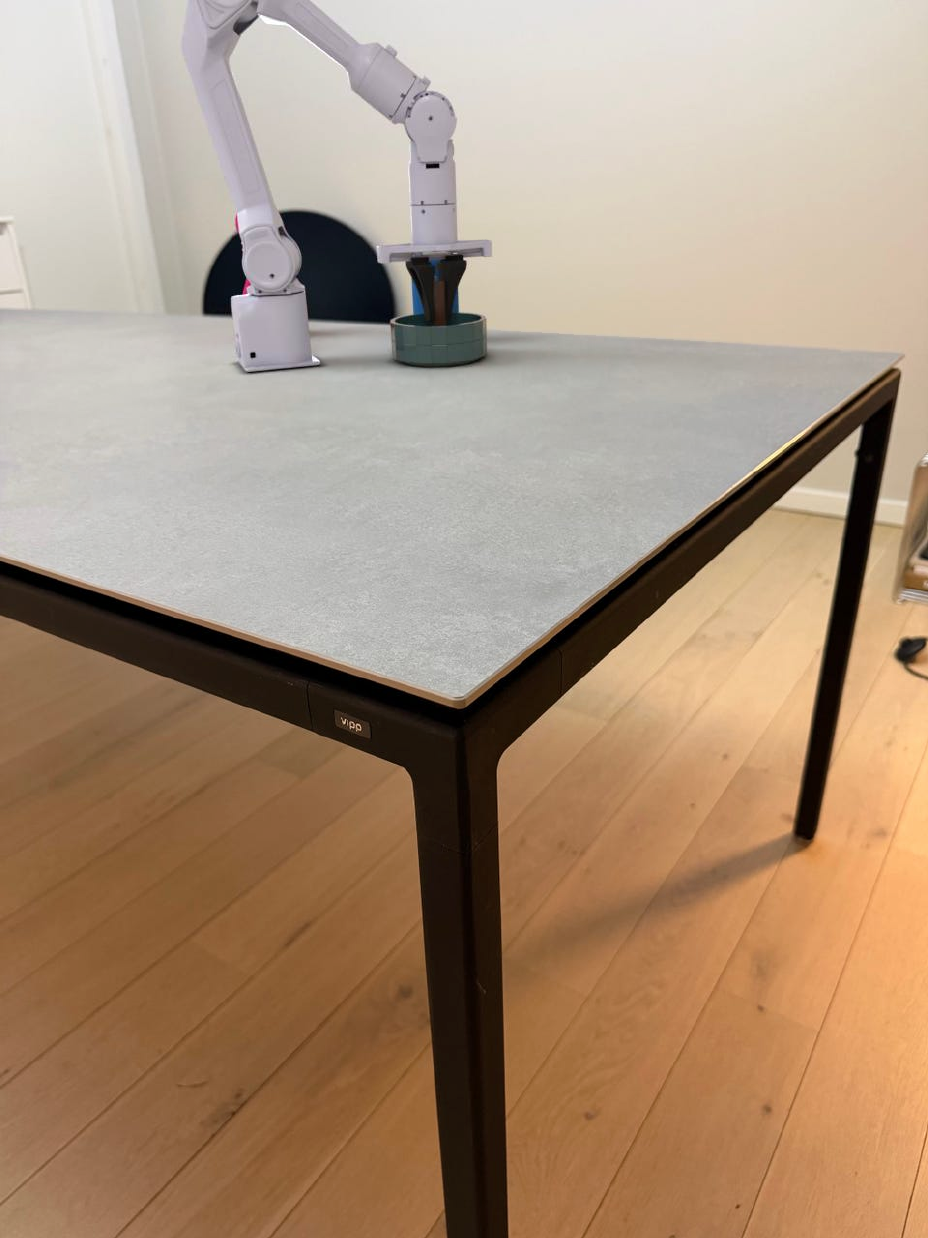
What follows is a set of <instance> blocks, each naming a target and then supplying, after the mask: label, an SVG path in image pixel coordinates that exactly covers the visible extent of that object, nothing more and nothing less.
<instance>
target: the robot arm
mask: <svg viewBox="0 0 928 1238" xmlns="http://www.w3.org/2000/svg"><path fill="white" fill-rule="evenodd" d="M259 18H260V19H261V20H262V21H263V22H264V23H265V24H268V25H277V26H288V27H289V28H291V29H292V30H294V31H295V32H296V33H297V34H299V35H300V36H301V37H303V38H304V39H305V40H306V41H308V42H309V43H310V44H312V45H313V46H314V47H316V48H317V49H318V50H319V51H321V52H322V53H323V54H325V55H326V56H327V57H328V58H330V59H331V60H333V61H334V62H335V63H336V64H337V65H339V66H340V67H342V68H343V69H344V70H345V71H346V74H347V80H348V86H349V89H350V90H351V91H352V92H353V93H354V94H355V95H357V96H358V97H360V98H361V99H362V100H363V101H364V102H366V103H367V105H369V106H370V107H372V108H373V109H374V110H375V111H377V112H378V113H379V114H381V115H382V116H383V117H385V118H386V120H388V121H389V122H391V123H392V124H393V125H397V124H400V125H403V127H404V130H405V133H406V135H407V137H408V139H409V141H408V143H409V162H408V163H407V169H408V171H407V172H408V190H409V192H408V193H409V210H410V211H409V214H410V227H411V228H410V232H411V242H408V243H398V244H397V243H396V244H385V245H377V246H376V254H377V255H376V256H377V263H378V264H391V263H404V262H405V269H406V270H407V273H408V274H409V276H410V279H411V278H412V280H413V282H414V284H415V286H416V289H417V291H418V294H419V297H420V299H421V303H422V306H423V310H424V315H425V320H427V321H429V322H432V321H435V301H434V280H435V269H436V267H435V266H434V265H431V262H429V260H436V259H442V260H440V261H437V263H436V265H437V270H438V277H439V280H443V281H445V307H446V310H445V314H446V320H451V315H452V309H453V304H454V299H455V296H456V292H457V289H458V290H459V286H460V284H461V281H462V278H463V276H464V274H465V272H466V270H467V265H468V262H467V260H465V258H467V259H468V258H479V257H480V258H481V257H483V258H489V257H491V258H492V257H493V241H492V240H491V239H467V240H466V239H465V240H464V239H463V240H458V207H457V201H458V200H457V175H456V174H457V173H456V172H457V171H456V170H457V169H456V168H457V167H456V162H455V160H454V156H455V145H454V142H453V138H452V137H453V136H454V134H455V131H456V128H457V123H458V122H457V121H458V118H457V116H456V113H455V110H454V107H453V105H452V103H451V102H450V100H449V98H447V97H446V96H445V95H444V94H442V93H440V92H438V91H433V90H428V88H430V87H429V86H431V83H432V81H431V80H430V79H429V78H428V77H427V76H426V75H424V76H423V77H422V78H421V77H420V76H419V75H417V73H415V72H414V71H413V70H412V69H410V68H409V67H408V66H407V65H405V64H404V62H402V61H400V59H398V58H397V57H396V56H397V55H398V51H397V50H396V49H395V48H394V47H393V46H392V45H390V44H387V45H386V46H385V47H384V46H383V45H381V43H379V42H377V41H376V42H375V41H374V42H369V43H363V44H361V43H359V42H358V41H357V40H356V39H355V38H354V37H353V36H351V34H349V33H348V31H346V30H345V29H343V28H342V26H340V25H339V24H338V23H336V22H335V21H334V20H333V19H332V18H331V17H330V16H329V15H328V14H327V13H326V12H324V11H323V10H322V9H321V8H319V6H317V5H316V4H315V3H314V2H313V1H312V0H187V1H186V7H185V15H184V21H183V26H182V33H181V40H180V48H181V54H182V57H183V60H184V63H185V66H186V69H187V71H188V75H189V77H190V80H191V83H192V87H193V89H194V93H195V96H196V99H197V101H198V104H199V108H200V110H201V113H202V116H203V118H204V122H205V125H206V128H207V131H208V134H209V136H210V137H209V138H210V139H211V142H212V145H213V149H214V151H215V154H216V157H217V160H218V163H219V167H220V170H221V172H222V175H223V178H224V181H225V184H226V187H227V189H228V193H229V196H230V199H231V203H232V205H233V207H234V210H235V213H236V214H237V219H238V229H239V233H238V235H239V238H240V240H241V242H242V244H243V245H242V244H241V245H242V246H243V247H242V249H243V251H242V259H241V266H242V270H243V271H242V272H243V273H244V276H245V277H246V279H248V280H249V282H250V283H251V286H249V287H248V288H247V293H248V294H246V295H243V294H240V295H239V294H237V295H233V296H231V298H230V307H231V316H232V324H233V331H234V339H235V343H234V344H235V345H234V346H235V353H236V357H237V362H238V364H239V365H240V366H241V367H242V369H243V370H244V371H245V372H246V373H247V372H259V371H260V372H261V371H270V370H271V371H272V370H281V369H291V368H292V369H293V368H300V367H310V366H320V365H321V361H320V360H319V359H318V358H317V357H316V356H314V355H313V353H312V343H311V334H310V325H309V314H308V304H307V296H306V295H307V294H306V285H304V284H302V283H301V282H300V281H299V279H298V278H297V277H296V276H297V275H298V274H299V272H300V269H301V267H302V253H301V250H300V247H299V245H298V244H297V242H296V241H295V240H294V239H293V238H292V237H291V236H290V235H289V233H288V231H287V230H286V228H285V227H286V226H285V224H284V221H283V219H282V216H281V214H280V212H279V210H278V208H277V205H276V204H275V200H274V198H273V194H272V191H271V188H270V185H269V182H268V179H267V176H266V175H267V174H266V172H265V170H264V166H263V164H262V159H261V157H260V153H259V151H258V148H257V145H256V141H255V138H254V135H253V132H252V128H251V125H250V122H249V119H248V116H247V113H246V110H245V107H244V104H243V100H242V98H241V94H240V91H239V88H238V85H237V82H236V79H235V75H234V72H233V68H232V66H231V63H230V59H231V56H232V54H233V52H234V50H235V48H236V46H237V44H238V42H239V40H240V38H241V36H242V34H243V33H245V31H246V30H247V29H249V28H250V27H251V26H252V25H253V24H254V23H255V22H256V21H257V20H258V19H259ZM236 214H235V215H236ZM444 251H447V252H451V253H453V254H442V255H427V256H414V255H423V252H444Z"/></svg>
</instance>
